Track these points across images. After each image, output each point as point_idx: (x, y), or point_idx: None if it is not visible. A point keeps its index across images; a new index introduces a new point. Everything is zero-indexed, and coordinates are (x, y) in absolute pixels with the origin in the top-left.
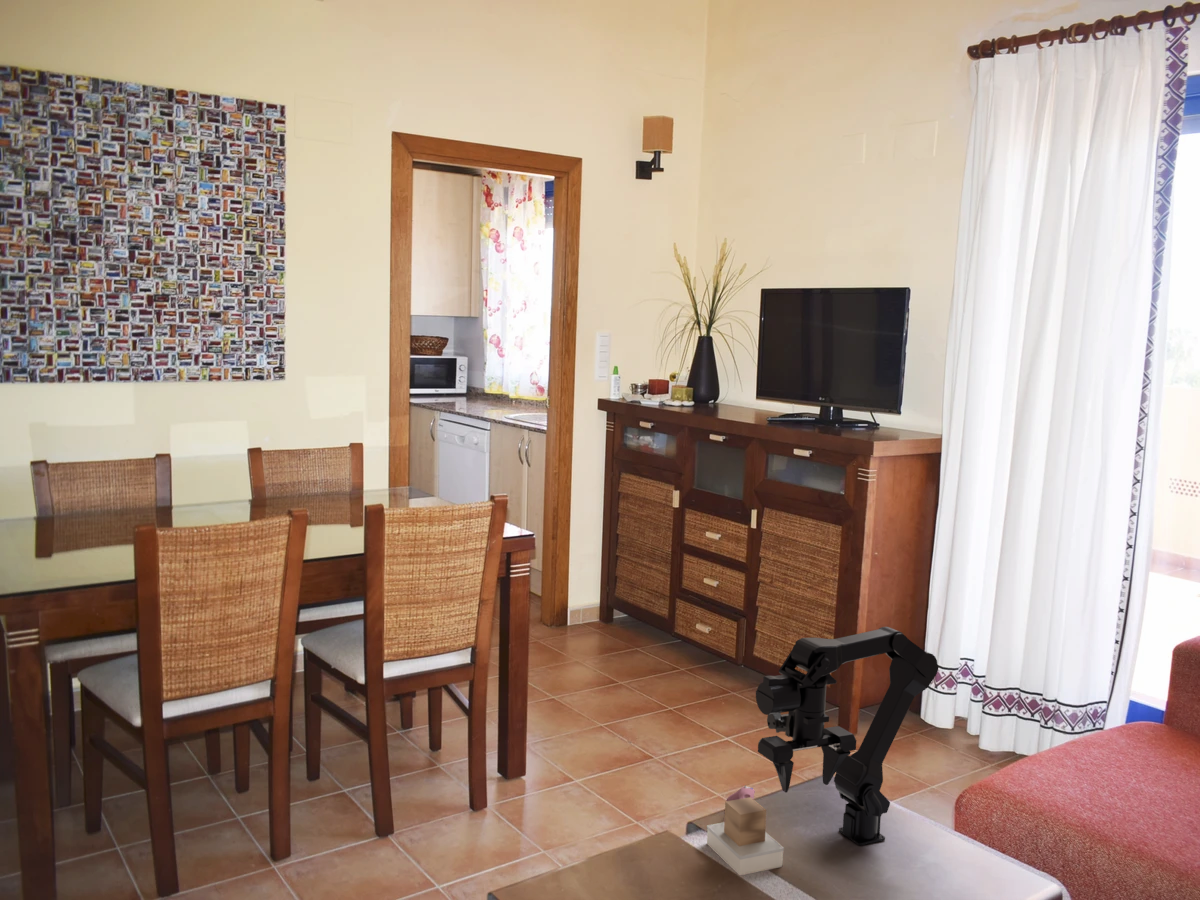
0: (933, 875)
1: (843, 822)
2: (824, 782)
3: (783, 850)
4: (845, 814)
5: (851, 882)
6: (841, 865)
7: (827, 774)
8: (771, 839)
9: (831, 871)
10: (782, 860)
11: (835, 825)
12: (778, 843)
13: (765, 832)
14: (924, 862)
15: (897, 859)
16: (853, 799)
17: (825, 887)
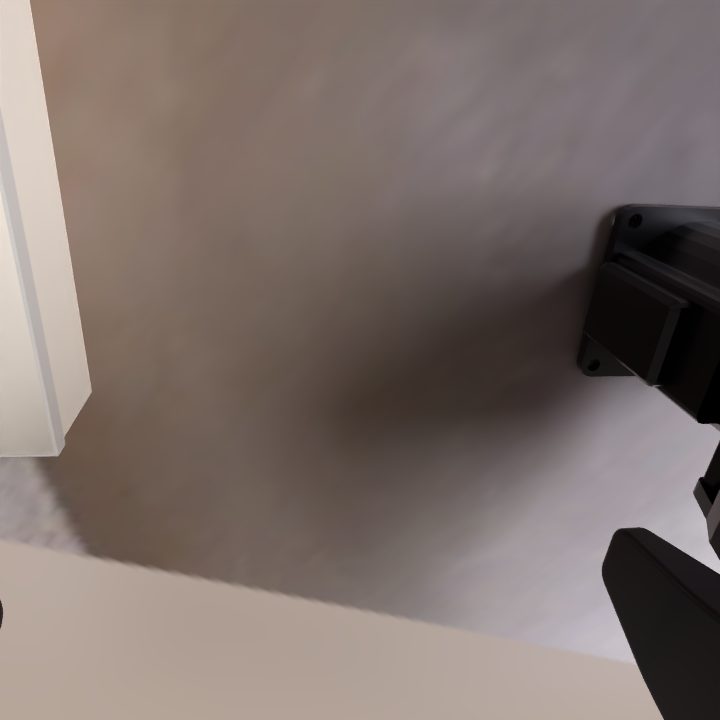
0: None
1: (634, 289)
2: (617, 565)
3: (62, 445)
4: (668, 323)
5: (323, 560)
6: (376, 462)
7: (691, 714)
8: (18, 353)
9: (301, 485)
10: (79, 410)
11: (664, 136)
12: (46, 407)
13: (14, 257)
14: (674, 529)
15: (614, 489)
16: (718, 516)
17: (199, 562)
